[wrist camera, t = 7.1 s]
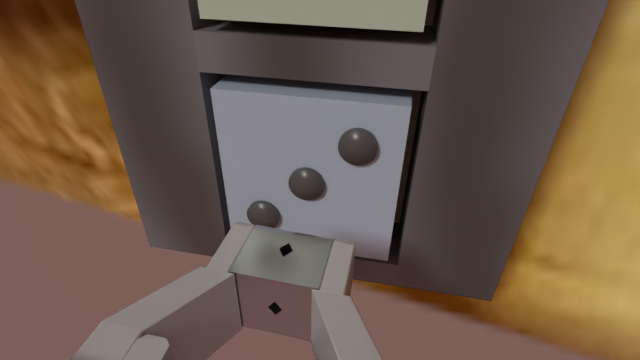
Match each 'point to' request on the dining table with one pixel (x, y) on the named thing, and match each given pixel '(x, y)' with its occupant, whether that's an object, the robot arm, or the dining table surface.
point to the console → (365, 70)
